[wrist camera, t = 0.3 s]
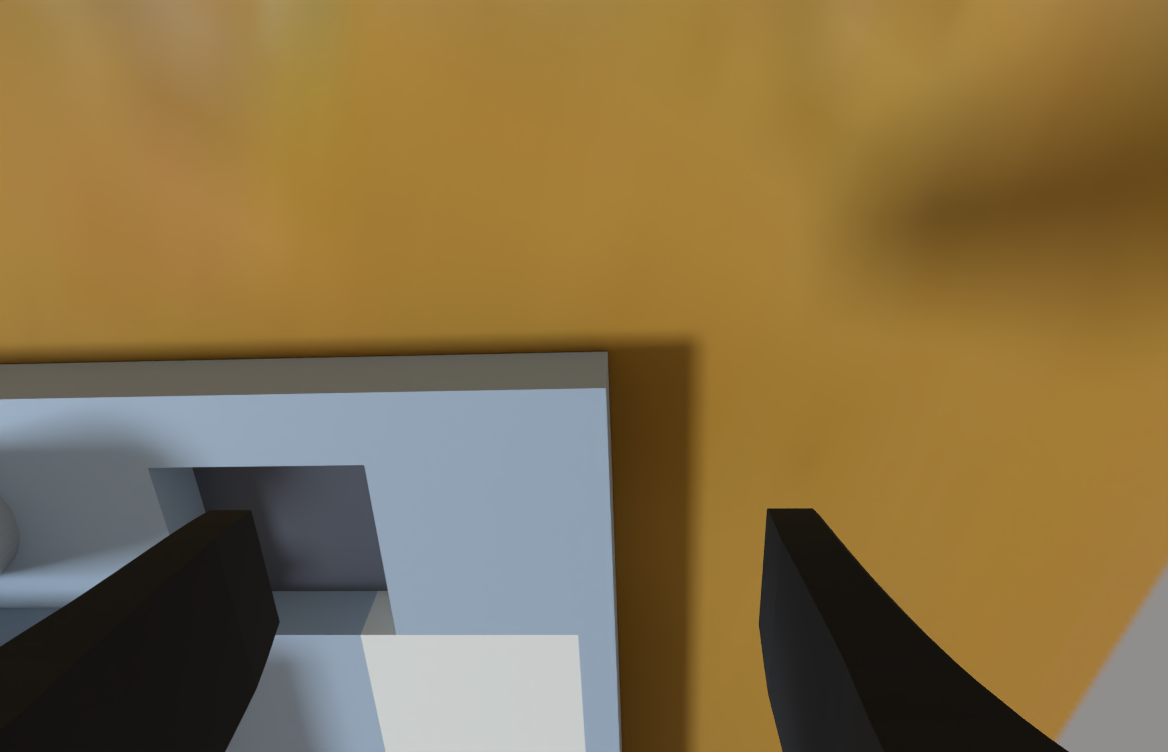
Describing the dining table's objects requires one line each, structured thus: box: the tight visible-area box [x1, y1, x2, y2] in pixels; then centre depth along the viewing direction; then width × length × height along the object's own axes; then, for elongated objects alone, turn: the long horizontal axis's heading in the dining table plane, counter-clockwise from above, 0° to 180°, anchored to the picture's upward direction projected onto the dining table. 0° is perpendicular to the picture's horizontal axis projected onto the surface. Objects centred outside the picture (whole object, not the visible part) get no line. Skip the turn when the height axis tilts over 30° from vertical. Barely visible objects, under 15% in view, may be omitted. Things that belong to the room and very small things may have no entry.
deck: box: [0, 352, 622, 752], centre depth 24 cm, size 17×24×4 cm
